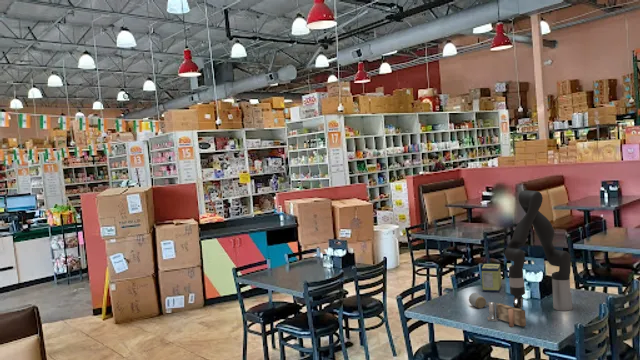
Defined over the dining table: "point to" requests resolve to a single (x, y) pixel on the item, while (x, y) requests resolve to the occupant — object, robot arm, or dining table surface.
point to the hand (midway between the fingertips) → (519, 316)
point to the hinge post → (492, 312)
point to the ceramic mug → (477, 300)
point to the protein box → (491, 278)
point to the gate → (517, 314)
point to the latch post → (511, 318)
